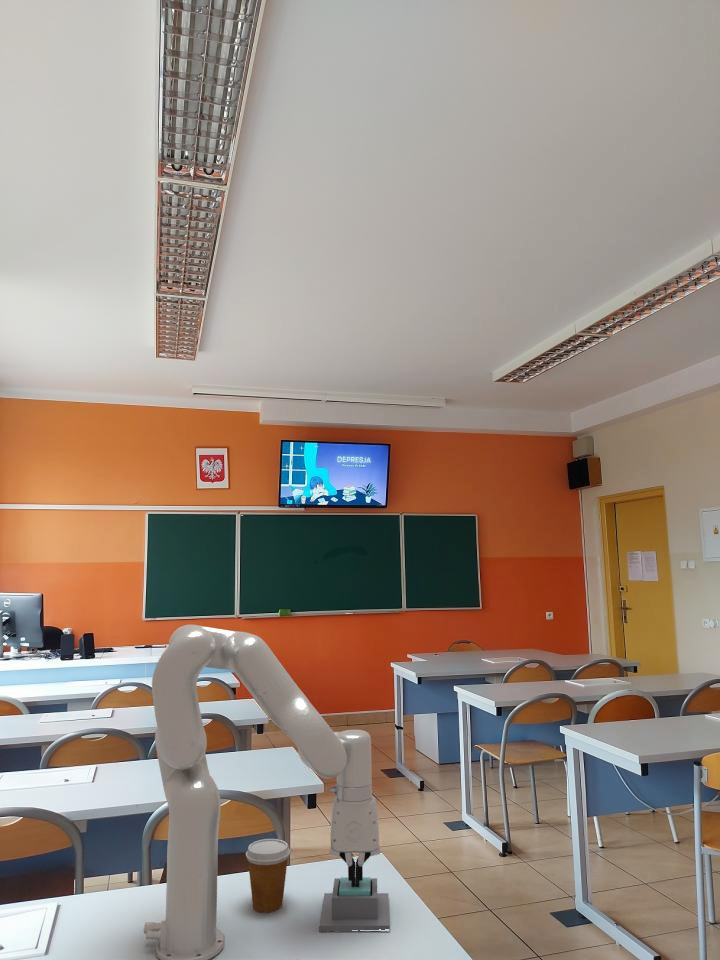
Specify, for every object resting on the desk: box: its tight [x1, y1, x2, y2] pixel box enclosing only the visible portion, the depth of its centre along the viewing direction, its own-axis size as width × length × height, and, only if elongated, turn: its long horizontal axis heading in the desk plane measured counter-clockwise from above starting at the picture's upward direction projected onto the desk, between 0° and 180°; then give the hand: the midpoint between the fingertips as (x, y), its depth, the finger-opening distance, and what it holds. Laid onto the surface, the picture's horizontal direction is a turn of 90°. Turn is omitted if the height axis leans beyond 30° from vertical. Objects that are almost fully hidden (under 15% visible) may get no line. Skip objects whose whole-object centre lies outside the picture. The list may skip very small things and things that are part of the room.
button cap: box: [339, 876, 371, 896], centre depth 142 cm, size 6×6×4 cm
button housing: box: [318, 877, 391, 933], centre depth 142 cm, size 14×14×5 cm
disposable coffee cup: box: [245, 838, 291, 914], centre depth 147 cm, size 10×10×12 cm
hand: (355, 883), depth 142 cm, fingers closed
